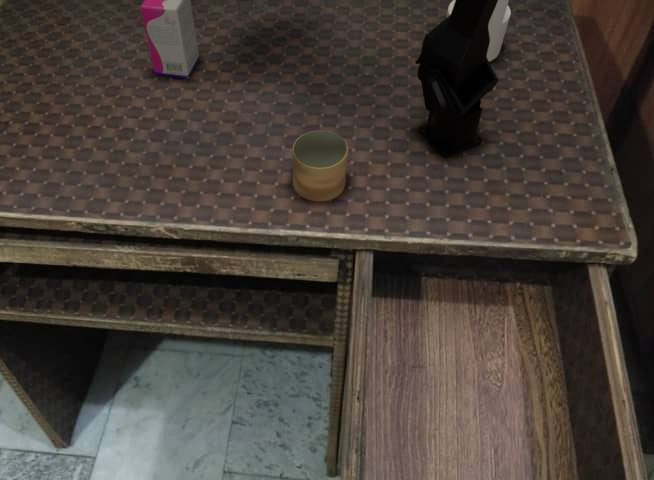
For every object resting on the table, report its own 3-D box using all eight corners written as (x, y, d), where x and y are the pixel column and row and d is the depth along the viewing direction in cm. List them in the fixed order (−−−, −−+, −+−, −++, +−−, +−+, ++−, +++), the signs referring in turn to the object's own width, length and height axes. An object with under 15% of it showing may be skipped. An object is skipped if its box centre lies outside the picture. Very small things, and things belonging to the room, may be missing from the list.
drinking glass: (431, 36, 101) (445, -39, 91) (483, 25, 102) (503, -52, 92) (456, 69, 96) (473, -7, 86) (511, 57, 97) (534, -20, 87)
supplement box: (200, 57, 102) (190, -12, 93) (188, 79, 99) (176, 11, 90) (167, 53, 103) (153, -16, 94) (154, 75, 100) (138, 7, 91)
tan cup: (355, 190, 84) (358, 156, 79) (307, 208, 82) (308, 175, 77) (329, 157, 87) (331, 123, 82) (284, 174, 86) (283, 140, 81)
